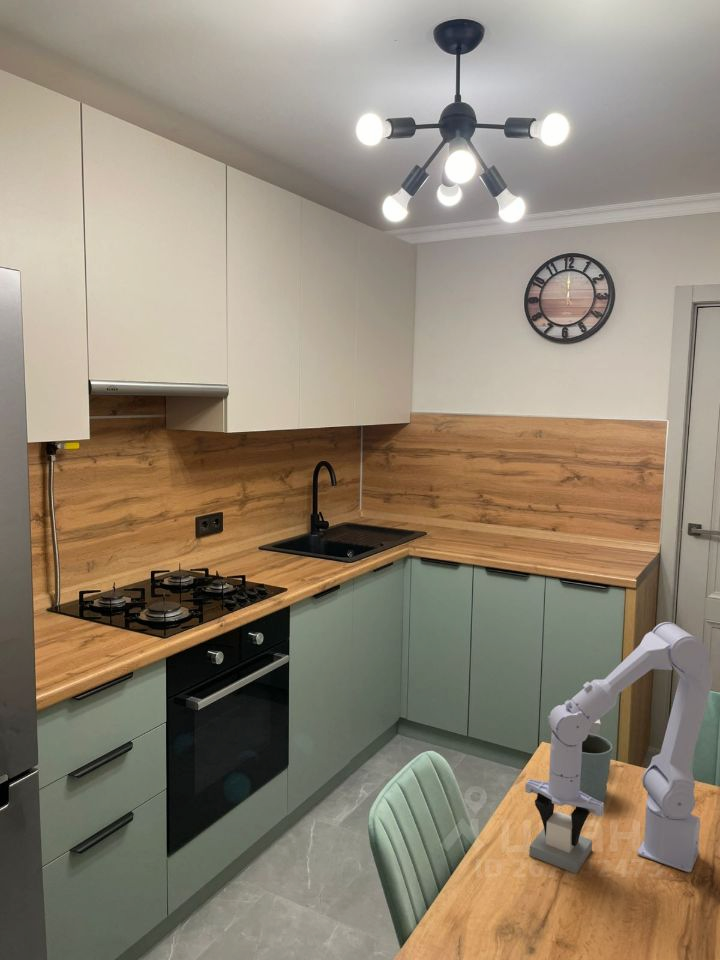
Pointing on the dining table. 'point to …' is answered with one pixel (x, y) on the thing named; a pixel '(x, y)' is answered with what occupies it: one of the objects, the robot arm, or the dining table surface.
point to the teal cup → (595, 766)
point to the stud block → (561, 853)
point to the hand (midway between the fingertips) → (561, 838)
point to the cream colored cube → (559, 831)
